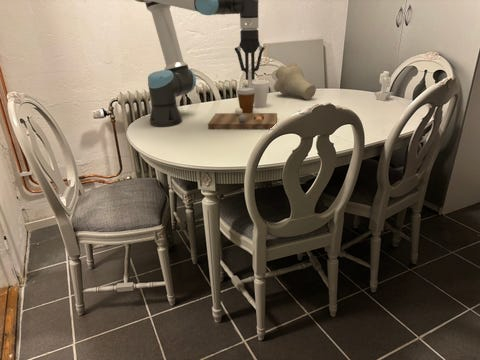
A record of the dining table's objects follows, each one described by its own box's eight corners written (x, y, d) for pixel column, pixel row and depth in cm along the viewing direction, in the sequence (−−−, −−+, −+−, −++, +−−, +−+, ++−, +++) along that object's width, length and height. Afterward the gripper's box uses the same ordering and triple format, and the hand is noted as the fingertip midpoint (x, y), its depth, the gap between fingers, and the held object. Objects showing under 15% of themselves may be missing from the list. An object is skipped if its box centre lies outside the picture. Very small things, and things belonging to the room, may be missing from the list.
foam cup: (249, 107, 190) (248, 83, 184) (254, 103, 197) (254, 80, 192) (265, 108, 186) (265, 83, 181) (271, 104, 194) (271, 80, 189)
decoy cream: (234, 115, 167) (234, 108, 165) (236, 113, 170) (235, 106, 168) (242, 115, 166) (241, 108, 165) (242, 113, 169) (242, 106, 168)
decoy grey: (237, 123, 155) (237, 115, 154) (238, 120, 158) (238, 113, 157) (245, 123, 155) (245, 115, 153) (246, 120, 158) (246, 113, 157)
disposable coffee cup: (254, 115, 176) (253, 90, 171) (235, 114, 178) (234, 90, 173) (257, 110, 184) (256, 87, 179) (239, 110, 186) (238, 87, 181)
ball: (263, 119, 159) (260, 126, 160) (264, 117, 162) (260, 124, 164) (256, 116, 159) (253, 122, 160) (257, 114, 162) (254, 120, 163)
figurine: (393, 98, 196) (397, 70, 189) (384, 101, 190) (388, 73, 184) (380, 97, 201) (384, 69, 194) (372, 100, 195) (375, 72, 189)
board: (208, 129, 157) (207, 123, 156) (215, 118, 173) (215, 113, 172) (275, 129, 153) (275, 123, 152) (277, 118, 169) (277, 113, 168)
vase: (334, 75, 195) (301, 59, 213) (306, 74, 183) (274, 56, 201) (320, 112, 207) (290, 93, 225) (293, 112, 194) (264, 92, 212)
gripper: (232, 30, 143) (234, 89, 153) (264, 29, 141) (264, 88, 152) (235, 29, 150) (236, 85, 160) (265, 28, 148) (265, 85, 158)
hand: (250, 87), depth 156 cm, fingers closed
